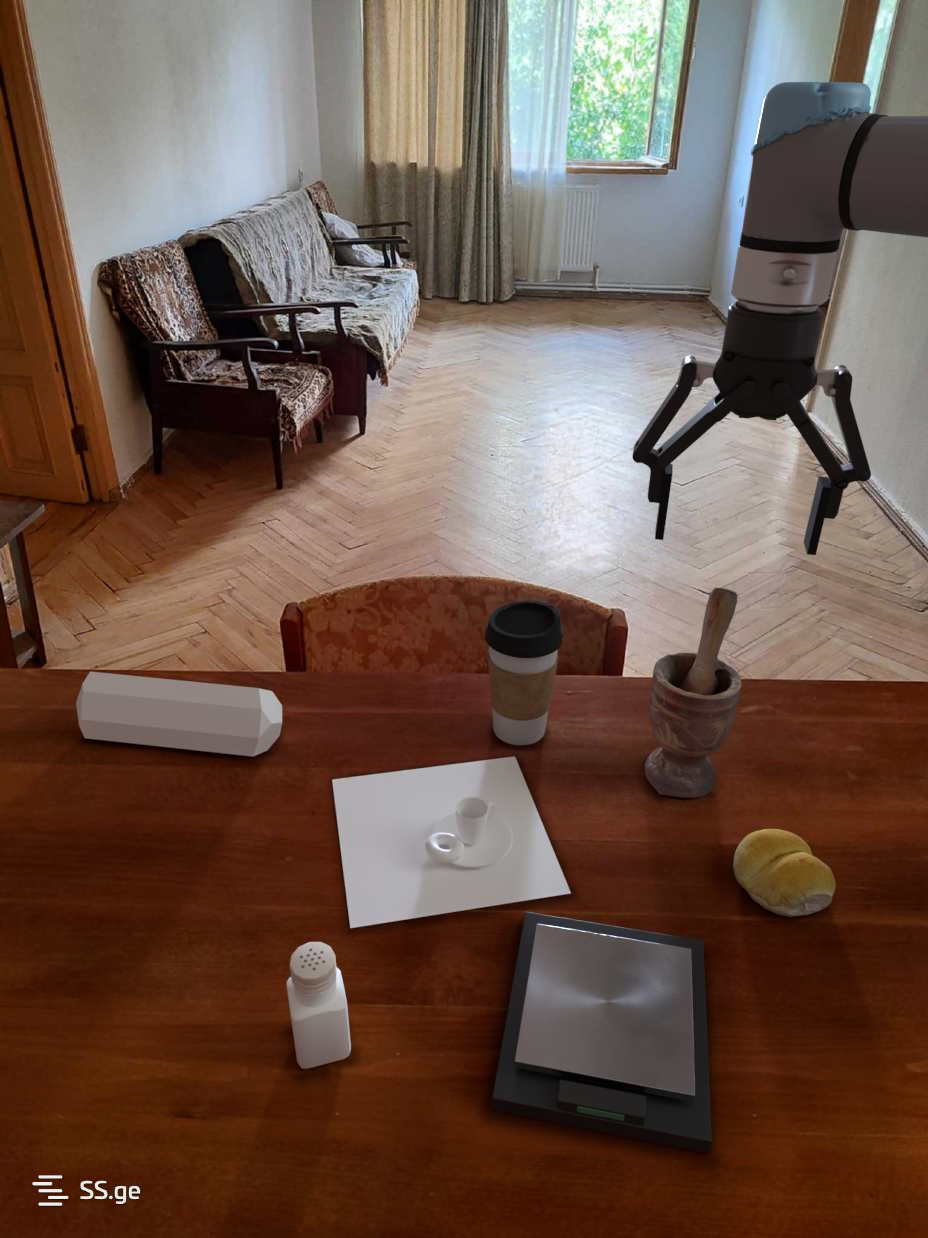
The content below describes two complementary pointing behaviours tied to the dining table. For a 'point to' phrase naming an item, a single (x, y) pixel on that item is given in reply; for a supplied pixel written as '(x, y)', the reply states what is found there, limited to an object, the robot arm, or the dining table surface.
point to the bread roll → (783, 873)
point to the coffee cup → (522, 668)
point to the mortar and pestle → (693, 707)
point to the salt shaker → (318, 1006)
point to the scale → (595, 1101)
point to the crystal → (178, 714)
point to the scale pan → (609, 1012)
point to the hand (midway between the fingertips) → (733, 541)
